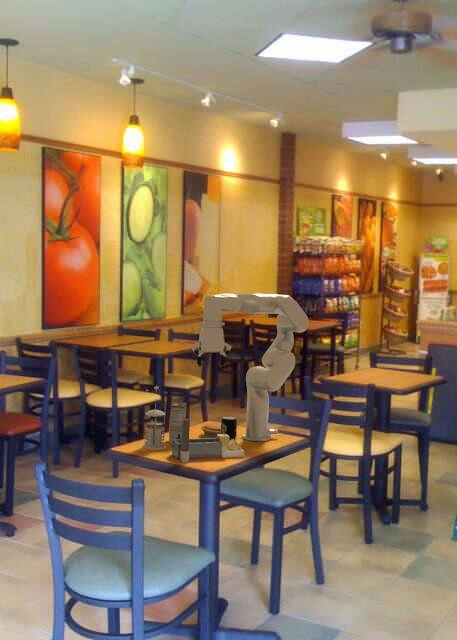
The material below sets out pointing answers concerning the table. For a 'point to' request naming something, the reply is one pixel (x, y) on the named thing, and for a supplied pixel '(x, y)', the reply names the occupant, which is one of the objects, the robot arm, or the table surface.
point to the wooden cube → (233, 445)
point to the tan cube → (223, 439)
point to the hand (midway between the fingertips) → (210, 365)
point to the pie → (212, 429)
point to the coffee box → (176, 420)
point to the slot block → (199, 448)
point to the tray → (231, 453)
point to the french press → (154, 431)
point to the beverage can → (229, 426)
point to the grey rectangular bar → (185, 441)
